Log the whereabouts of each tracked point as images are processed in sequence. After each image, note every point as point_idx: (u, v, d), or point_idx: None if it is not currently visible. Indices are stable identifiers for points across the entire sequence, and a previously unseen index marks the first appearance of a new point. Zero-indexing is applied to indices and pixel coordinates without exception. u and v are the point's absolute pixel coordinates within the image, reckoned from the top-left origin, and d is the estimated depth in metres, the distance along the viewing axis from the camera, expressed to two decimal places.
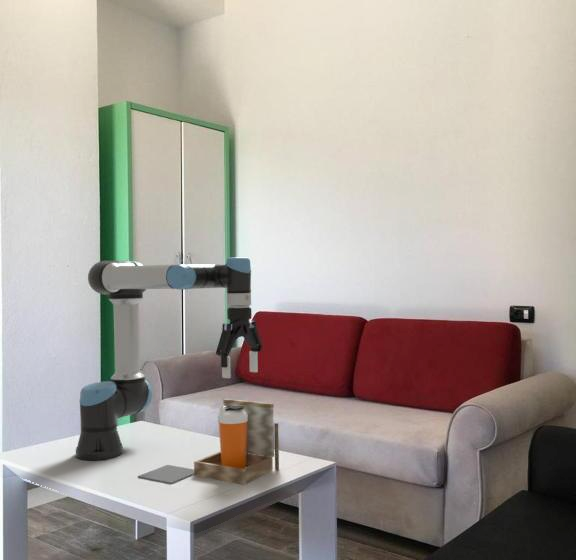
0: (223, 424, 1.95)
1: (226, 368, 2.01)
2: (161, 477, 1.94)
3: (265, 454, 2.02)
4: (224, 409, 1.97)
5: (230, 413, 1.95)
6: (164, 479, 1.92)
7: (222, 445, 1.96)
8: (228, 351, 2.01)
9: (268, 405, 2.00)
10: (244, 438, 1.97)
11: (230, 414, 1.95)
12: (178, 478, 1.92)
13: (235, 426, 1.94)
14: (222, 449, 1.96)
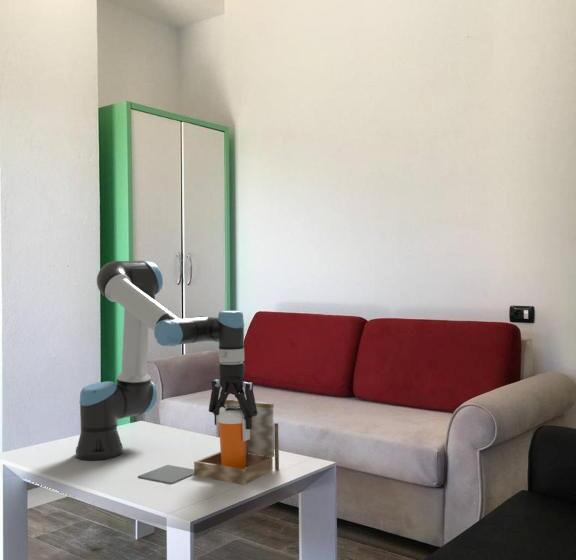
0: (223, 424, 1.95)
1: None
2: (161, 477, 1.94)
3: (265, 454, 2.02)
4: (224, 409, 1.97)
5: (230, 413, 1.95)
6: (164, 479, 1.92)
7: (222, 445, 1.96)
8: (216, 409, 2.00)
9: (268, 405, 2.00)
10: None
11: (230, 414, 1.95)
12: (178, 478, 1.92)
13: (235, 426, 1.94)
14: (222, 449, 1.96)
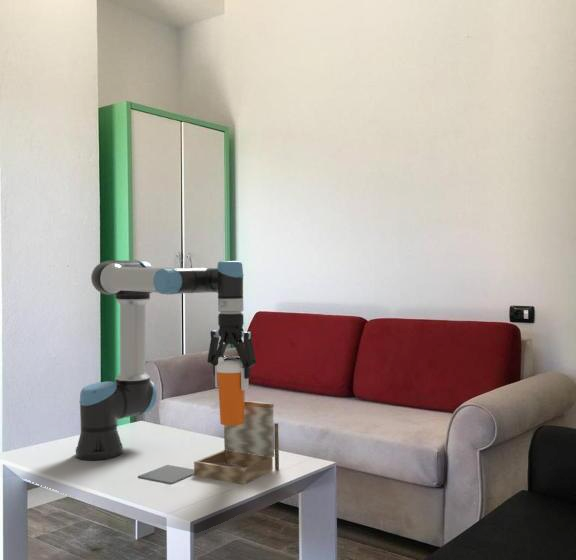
0: (221, 373, 1.95)
1: None
2: (161, 477, 1.94)
3: (265, 454, 2.02)
4: (223, 359, 1.97)
5: (229, 362, 1.95)
6: (164, 479, 1.92)
7: (220, 394, 1.96)
8: (214, 360, 2.00)
9: (268, 405, 2.00)
10: None
11: (229, 363, 1.95)
12: (178, 478, 1.92)
13: (234, 375, 1.94)
14: (220, 399, 1.96)
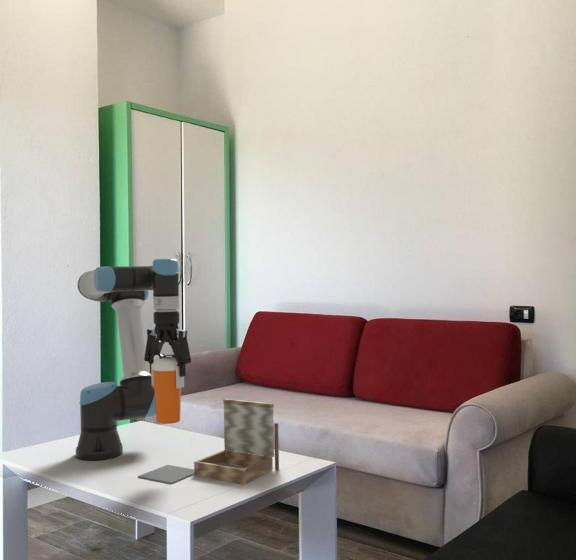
0: (156, 371, 1.94)
1: None
2: (161, 477, 1.94)
3: (265, 454, 2.02)
4: (158, 357, 1.96)
5: (163, 360, 1.94)
6: (164, 479, 1.92)
7: (156, 393, 1.95)
8: (151, 358, 1.99)
9: (268, 405, 2.00)
10: None
11: (163, 361, 1.94)
12: (178, 478, 1.92)
13: (168, 373, 1.94)
14: (156, 397, 1.95)
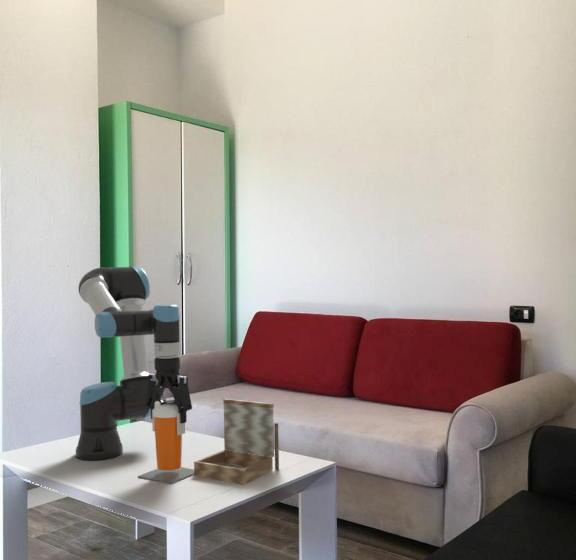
0: (157, 418, 1.94)
1: None
2: (161, 477, 1.94)
3: (265, 454, 2.02)
4: (159, 403, 1.96)
5: (164, 407, 1.95)
6: (164, 479, 1.92)
7: (157, 439, 1.95)
8: (152, 403, 1.99)
9: (268, 405, 2.00)
10: None
11: (164, 408, 1.94)
12: (178, 478, 1.92)
13: (169, 420, 1.94)
14: (157, 443, 1.95)
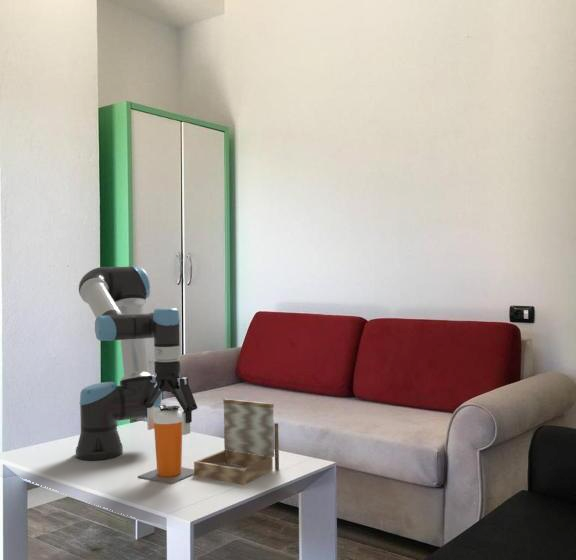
0: (157, 424, 1.94)
1: None
2: (161, 477, 1.94)
3: (265, 454, 2.02)
4: (159, 409, 1.96)
5: (164, 413, 1.95)
6: (164, 479, 1.92)
7: (157, 445, 1.95)
8: (147, 402, 2.00)
9: (268, 405, 2.00)
10: (179, 438, 1.96)
11: (164, 414, 1.94)
12: (178, 478, 1.92)
13: (169, 426, 1.94)
14: (157, 449, 1.95)
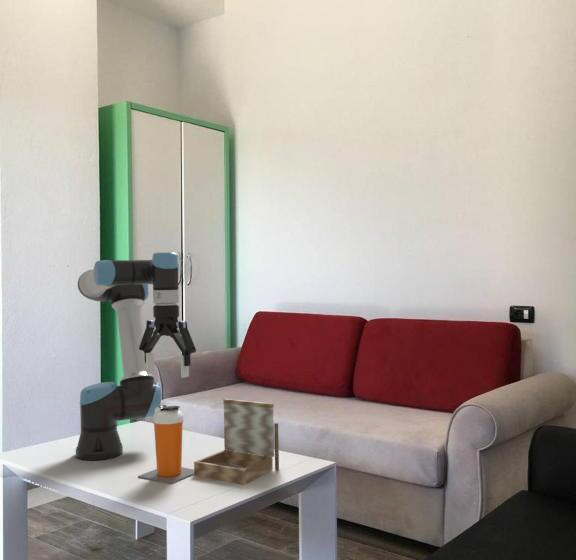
0: (157, 424, 1.94)
1: None
2: (161, 477, 1.94)
3: (265, 454, 2.02)
4: (159, 409, 1.96)
5: (164, 413, 1.95)
6: (164, 479, 1.92)
7: (157, 445, 1.95)
8: (146, 347, 2.00)
9: (268, 405, 2.00)
10: (179, 438, 1.96)
11: (164, 414, 1.94)
12: (178, 478, 1.92)
13: (169, 426, 1.94)
14: (157, 449, 1.95)
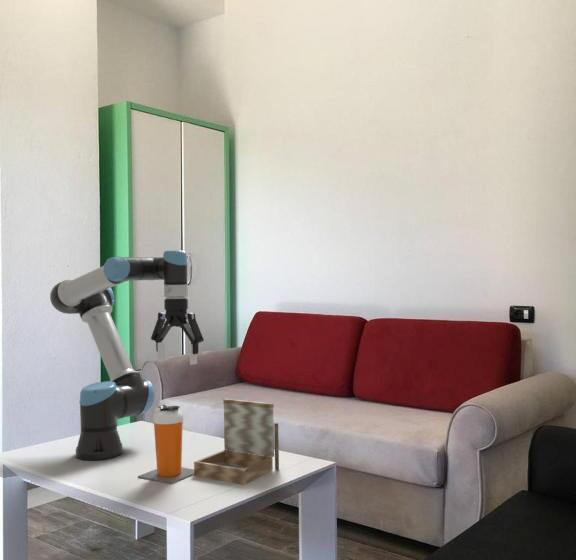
0: (157, 424, 1.94)
1: None
2: (161, 477, 1.94)
3: (265, 454, 2.02)
4: (159, 409, 1.96)
5: (164, 413, 1.95)
6: (164, 479, 1.92)
7: (157, 445, 1.95)
8: (157, 337, 2.19)
9: (268, 405, 2.00)
10: (179, 438, 1.96)
11: (164, 414, 1.94)
12: (178, 478, 1.92)
13: (169, 426, 1.94)
14: (157, 449, 1.95)
